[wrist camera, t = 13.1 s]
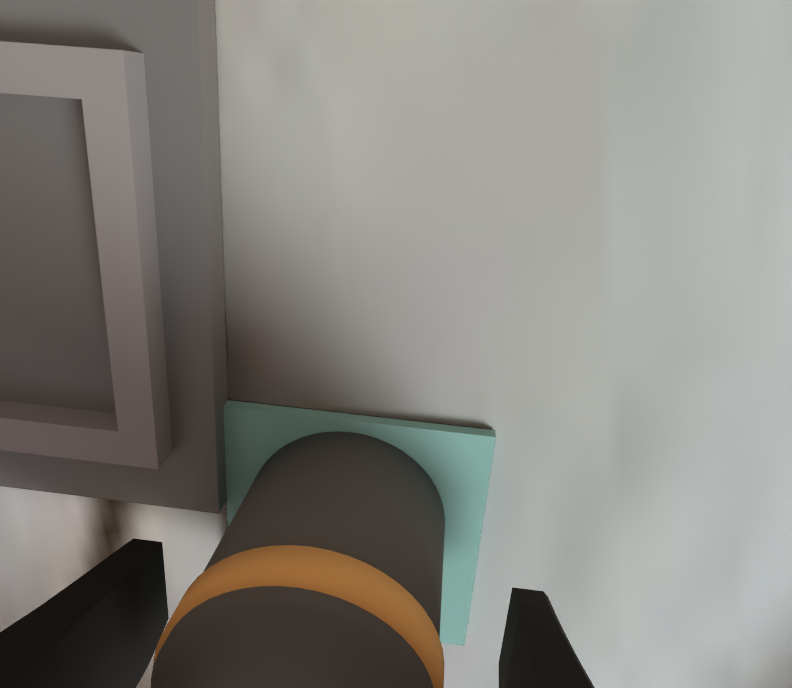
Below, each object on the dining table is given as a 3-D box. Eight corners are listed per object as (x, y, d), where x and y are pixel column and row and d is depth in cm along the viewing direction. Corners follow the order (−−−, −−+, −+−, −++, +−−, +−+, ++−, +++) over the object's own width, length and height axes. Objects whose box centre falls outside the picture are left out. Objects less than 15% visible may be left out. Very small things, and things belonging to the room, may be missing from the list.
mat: (234, 604, 16) (230, 613, 16) (228, 399, 14) (223, 406, 14) (464, 636, 16) (464, 645, 16) (494, 430, 14) (495, 437, 13)
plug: (340, 627, 16) (288, 847, 11) (205, 499, 15) (86, 682, 10) (492, 536, 14) (504, 746, 10) (353, 387, 13) (294, 542, 9)
